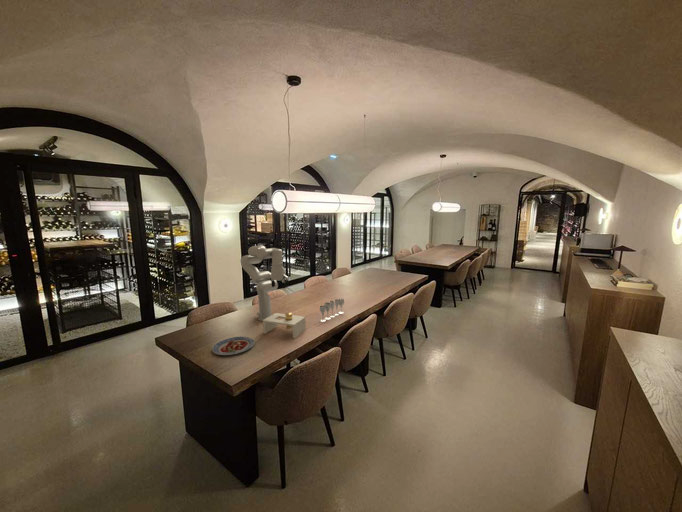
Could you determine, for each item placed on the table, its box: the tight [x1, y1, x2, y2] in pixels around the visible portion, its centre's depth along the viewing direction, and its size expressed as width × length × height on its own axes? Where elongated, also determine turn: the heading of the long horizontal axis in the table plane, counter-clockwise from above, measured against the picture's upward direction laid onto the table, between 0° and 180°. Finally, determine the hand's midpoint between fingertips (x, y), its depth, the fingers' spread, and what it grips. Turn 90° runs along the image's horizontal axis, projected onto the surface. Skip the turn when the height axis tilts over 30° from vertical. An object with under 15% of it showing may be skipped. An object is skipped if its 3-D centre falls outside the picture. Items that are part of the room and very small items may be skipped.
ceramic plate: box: [211, 335, 255, 356], centre depth 186 cm, size 26×26×3 cm
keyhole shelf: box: [262, 312, 307, 339], centre depth 209 cm, size 26×16×10 cm, turn 69°
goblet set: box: [319, 298, 345, 323], centre depth 237 cm, size 28×6×13 cm, turn 140°
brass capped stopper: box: [284, 312, 293, 330], centre depth 207 cm, size 5×5×10 cm
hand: (278, 287), depth 218 cm, fingers open, 9 cm apart
